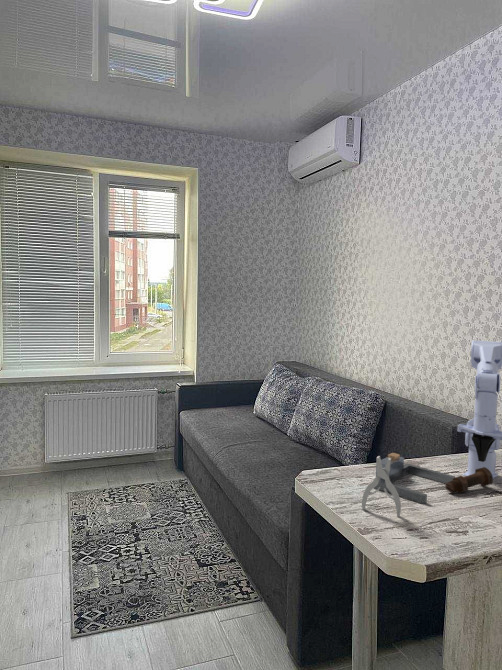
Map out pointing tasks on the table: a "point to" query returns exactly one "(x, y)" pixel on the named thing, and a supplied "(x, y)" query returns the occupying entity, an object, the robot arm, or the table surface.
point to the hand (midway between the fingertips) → (481, 460)
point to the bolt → (470, 481)
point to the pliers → (384, 475)
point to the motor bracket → (401, 470)
